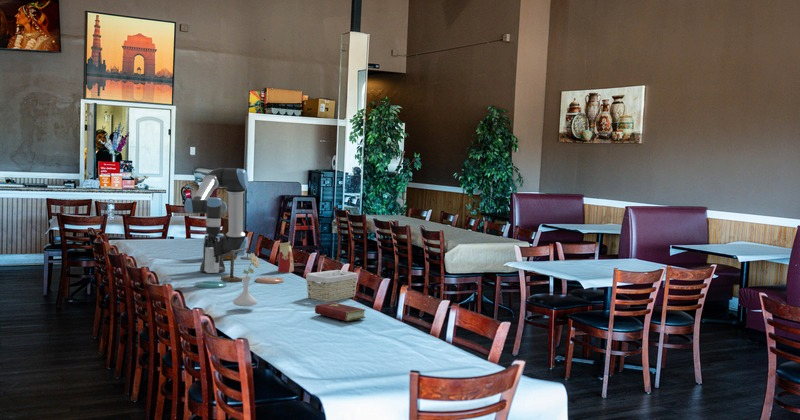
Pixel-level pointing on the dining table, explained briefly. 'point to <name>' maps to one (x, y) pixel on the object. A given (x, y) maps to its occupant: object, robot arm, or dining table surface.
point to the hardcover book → (340, 311)
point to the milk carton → (285, 258)
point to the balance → (231, 277)
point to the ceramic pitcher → (225, 231)
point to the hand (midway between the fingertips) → (211, 267)
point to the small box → (209, 260)
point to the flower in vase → (245, 296)
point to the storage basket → (331, 285)
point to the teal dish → (211, 284)
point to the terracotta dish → (269, 280)
